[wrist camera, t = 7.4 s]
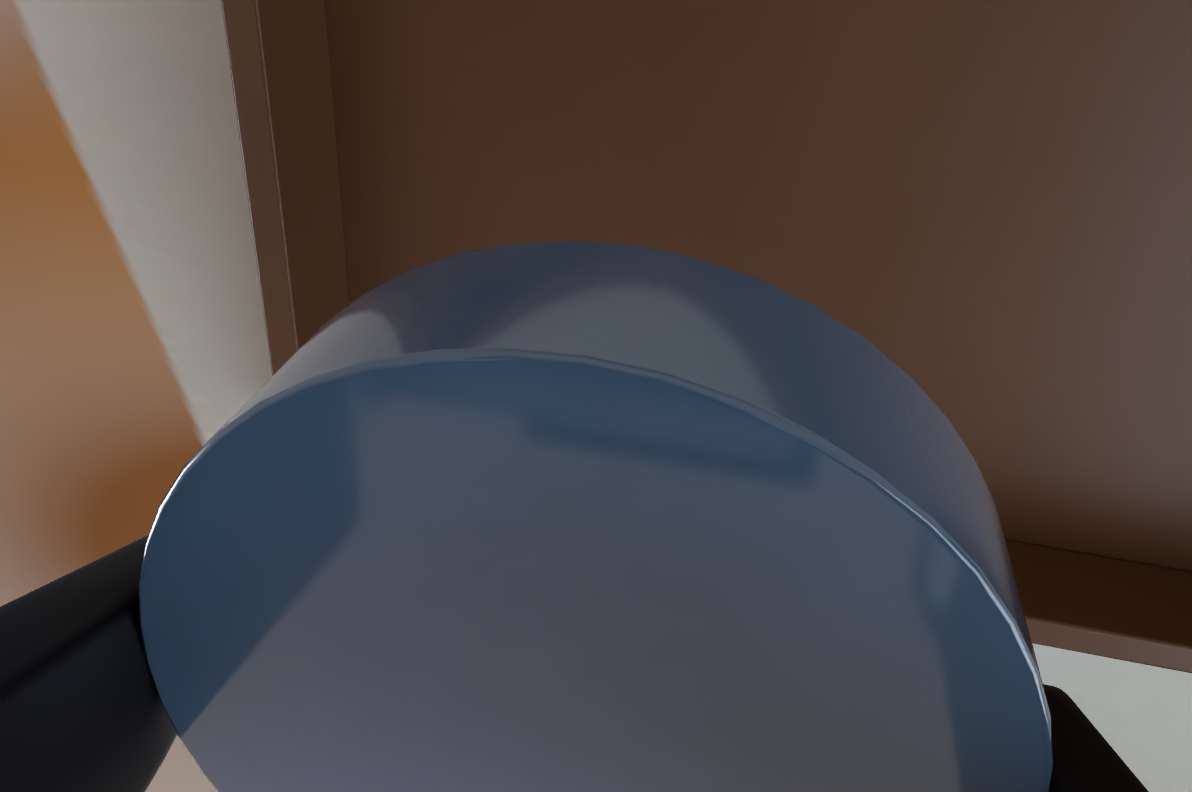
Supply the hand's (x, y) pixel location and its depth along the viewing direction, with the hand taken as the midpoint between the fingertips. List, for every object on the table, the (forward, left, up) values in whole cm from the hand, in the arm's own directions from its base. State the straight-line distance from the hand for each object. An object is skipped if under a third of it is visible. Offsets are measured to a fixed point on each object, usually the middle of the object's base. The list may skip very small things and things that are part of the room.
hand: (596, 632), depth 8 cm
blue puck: (0, 0, -1) cm, 1 cm away
